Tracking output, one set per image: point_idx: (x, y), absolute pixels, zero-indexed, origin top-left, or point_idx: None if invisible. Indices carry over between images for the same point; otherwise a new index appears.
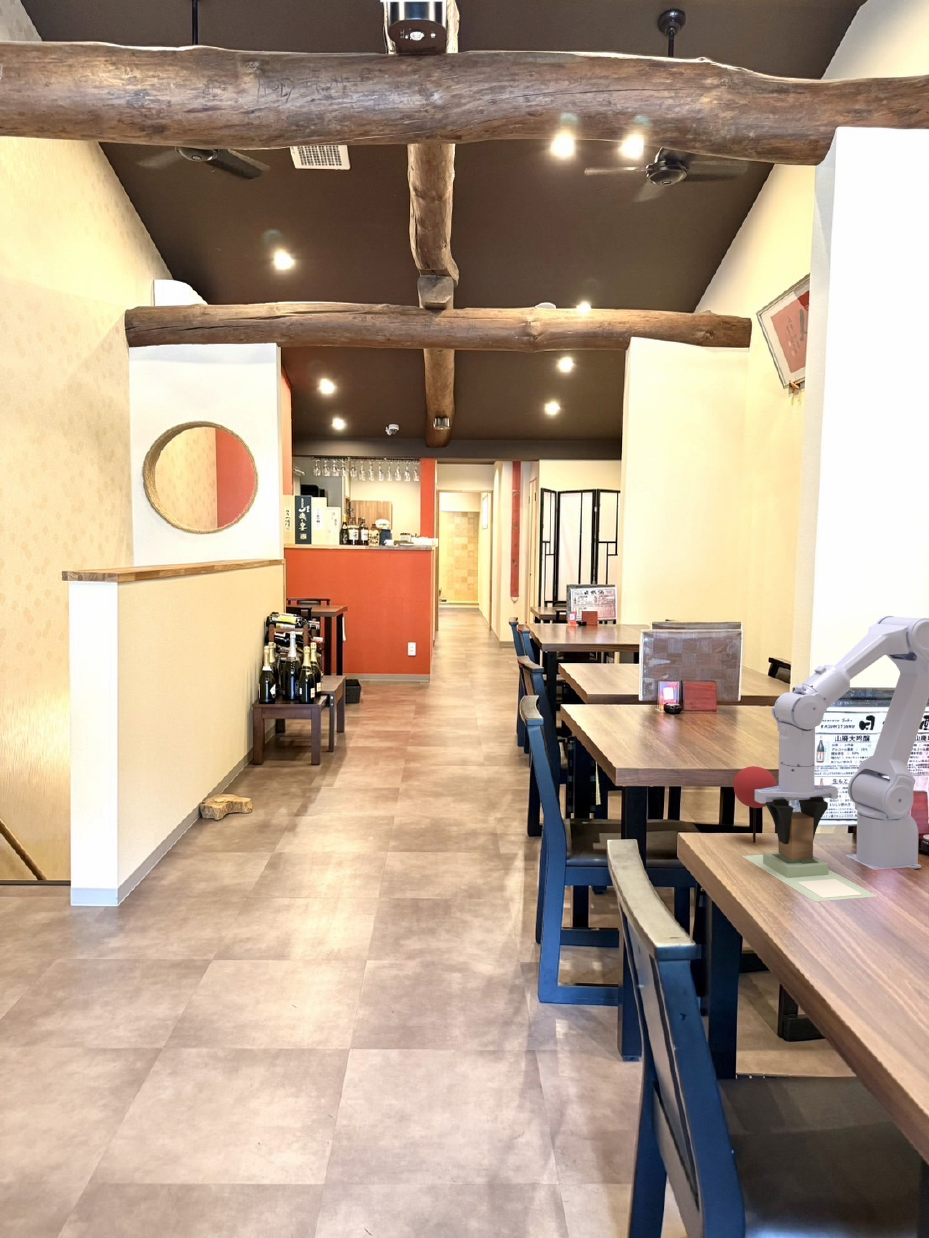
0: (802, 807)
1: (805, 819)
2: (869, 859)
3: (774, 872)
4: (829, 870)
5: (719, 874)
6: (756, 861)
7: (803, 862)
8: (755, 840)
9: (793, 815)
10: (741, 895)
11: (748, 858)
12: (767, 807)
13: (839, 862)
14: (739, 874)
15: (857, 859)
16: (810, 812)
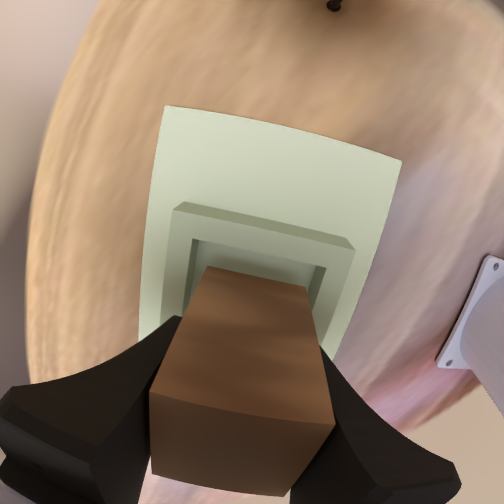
0: (338, 466)
1: (235, 487)
2: (466, 348)
3: (158, 290)
4: (336, 342)
5: (36, 208)
6: (172, 178)
7: (314, 274)
8: (340, 2)
9: (210, 455)
10: (35, 333)
11: (169, 137)
12: (39, 386)
13: (445, 274)
14: (78, 229)
15: (477, 300)
16: (302, 499)
